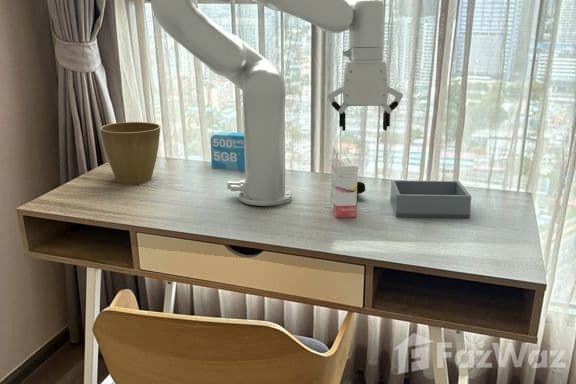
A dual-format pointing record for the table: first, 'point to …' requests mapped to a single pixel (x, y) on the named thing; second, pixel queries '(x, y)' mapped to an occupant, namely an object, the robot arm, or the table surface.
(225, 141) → the data package
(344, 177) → the ink cartridge box
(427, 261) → the table surface
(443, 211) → the tote
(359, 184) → the tape measure
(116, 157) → the plant pot
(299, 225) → the table surface
